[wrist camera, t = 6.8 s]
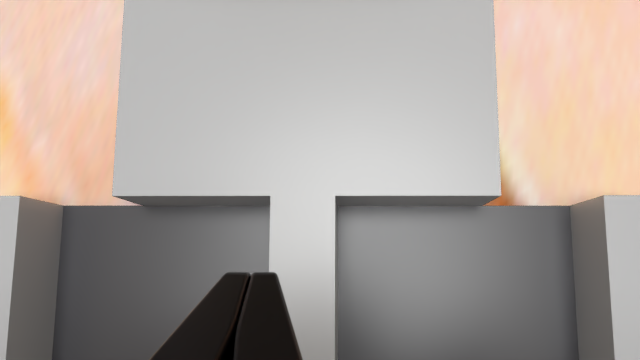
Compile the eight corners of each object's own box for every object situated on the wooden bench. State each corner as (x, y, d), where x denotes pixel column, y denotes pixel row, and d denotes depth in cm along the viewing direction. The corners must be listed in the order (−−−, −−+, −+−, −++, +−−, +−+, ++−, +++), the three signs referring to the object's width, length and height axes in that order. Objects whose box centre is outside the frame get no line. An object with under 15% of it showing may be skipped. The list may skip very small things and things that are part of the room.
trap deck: (652, 551, 19) (708, 604, 16) (-16, 527, 20) (-80, 572, 17) (592, -260, 23) (627, -338, 20) (52, -234, 25) (10, -304, 22)
